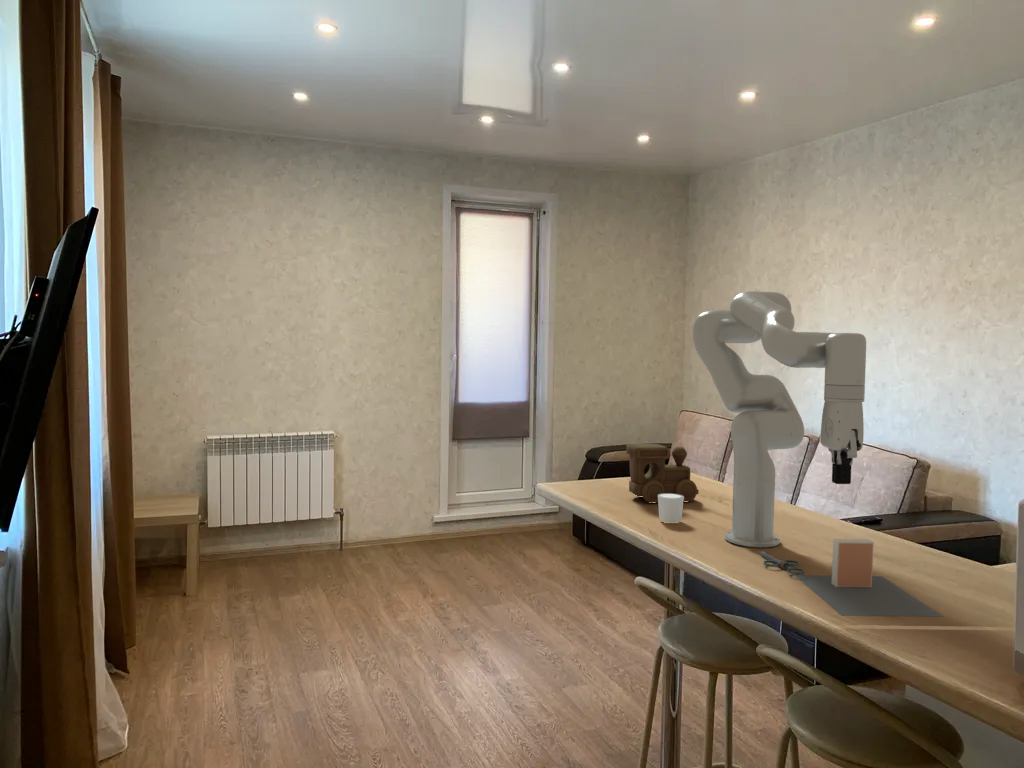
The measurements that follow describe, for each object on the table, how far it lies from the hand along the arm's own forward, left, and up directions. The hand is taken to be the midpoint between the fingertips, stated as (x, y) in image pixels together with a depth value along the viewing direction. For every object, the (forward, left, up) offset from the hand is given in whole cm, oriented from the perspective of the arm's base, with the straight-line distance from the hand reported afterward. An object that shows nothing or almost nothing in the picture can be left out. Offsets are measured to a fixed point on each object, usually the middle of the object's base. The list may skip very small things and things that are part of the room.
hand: (841, 483), depth 152 cm
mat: (+12, 0, -20) cm, 23 cm away
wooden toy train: (-70, -22, -20) cm, 76 cm away
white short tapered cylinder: (-44, -25, -20) cm, 55 cm away
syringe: (-6, -10, -20) cm, 23 cm away
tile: (+7, 0, -19) cm, 20 cm away
